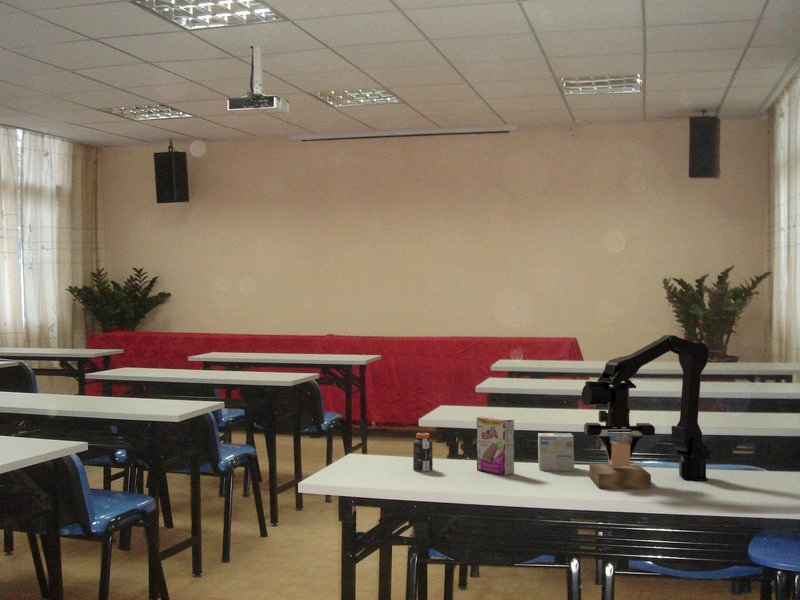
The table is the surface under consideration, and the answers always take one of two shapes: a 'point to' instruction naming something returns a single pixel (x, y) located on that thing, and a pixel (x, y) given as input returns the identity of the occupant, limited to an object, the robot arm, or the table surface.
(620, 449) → the terracotta block
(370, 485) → the table surface
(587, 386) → the robot arm
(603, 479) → the walnut plinth
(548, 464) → the light bulb box
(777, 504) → the table surface
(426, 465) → the pill bottle
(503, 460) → the candy bar box
